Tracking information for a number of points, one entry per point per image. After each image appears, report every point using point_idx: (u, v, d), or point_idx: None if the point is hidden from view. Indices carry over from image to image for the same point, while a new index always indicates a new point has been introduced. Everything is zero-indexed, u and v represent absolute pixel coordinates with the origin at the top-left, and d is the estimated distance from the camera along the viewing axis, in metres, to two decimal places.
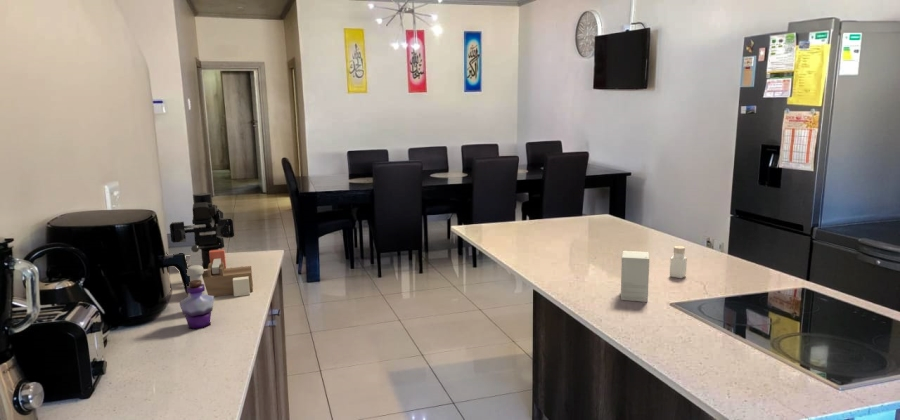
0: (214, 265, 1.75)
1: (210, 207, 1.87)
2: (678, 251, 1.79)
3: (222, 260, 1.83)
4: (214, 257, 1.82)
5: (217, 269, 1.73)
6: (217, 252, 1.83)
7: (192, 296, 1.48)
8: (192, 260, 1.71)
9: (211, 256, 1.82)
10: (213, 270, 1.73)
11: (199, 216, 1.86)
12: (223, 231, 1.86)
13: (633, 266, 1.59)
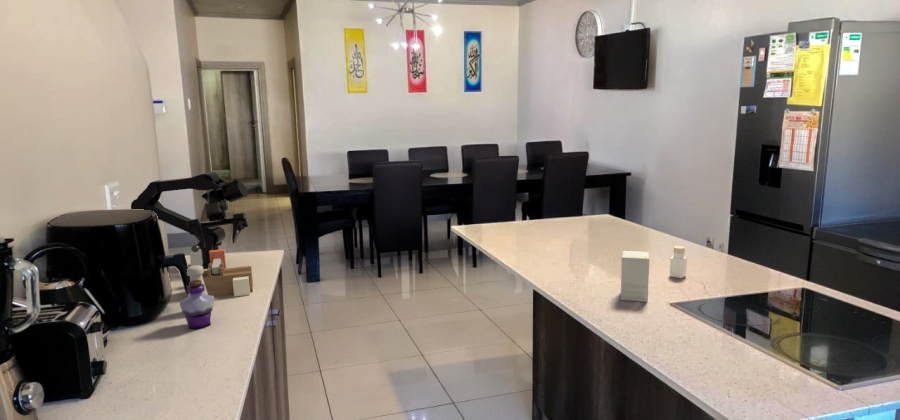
0: (214, 265, 1.75)
1: (222, 208, 1.91)
2: (678, 251, 1.79)
3: (222, 260, 1.83)
4: (214, 257, 1.82)
5: (217, 269, 1.73)
6: (217, 252, 1.83)
7: (192, 296, 1.48)
8: (192, 260, 1.71)
9: (211, 256, 1.82)
10: (213, 270, 1.73)
11: (213, 213, 1.92)
12: (238, 226, 1.96)
13: (633, 266, 1.59)
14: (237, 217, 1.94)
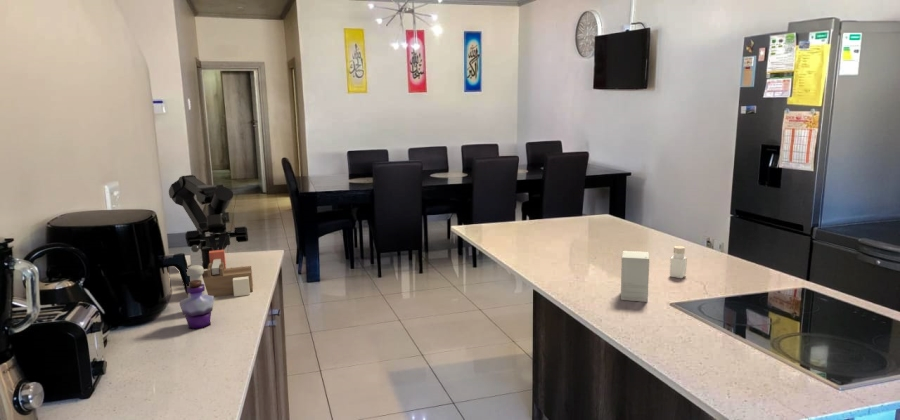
0: (214, 266, 1.74)
1: (224, 220, 1.86)
2: (678, 251, 1.79)
3: (222, 261, 1.83)
4: (214, 258, 1.82)
5: (217, 270, 1.73)
6: (217, 252, 1.82)
7: (192, 296, 1.48)
8: (192, 260, 1.71)
9: (211, 257, 1.82)
10: (213, 271, 1.72)
11: (213, 226, 1.87)
12: (224, 242, 1.89)
13: (633, 266, 1.59)
14: (239, 230, 1.89)
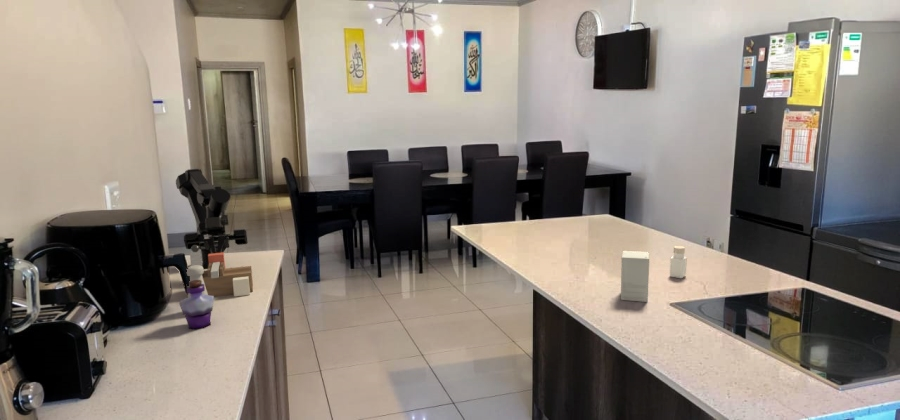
0: (213, 269, 1.71)
1: (223, 223, 1.83)
2: (678, 251, 1.79)
3: None
4: (213, 261, 1.78)
5: (216, 273, 1.69)
6: (216, 255, 1.79)
7: (192, 296, 1.48)
8: (192, 260, 1.71)
9: (210, 260, 1.78)
10: (212, 274, 1.69)
11: (212, 228, 1.84)
12: (223, 244, 1.87)
13: (633, 266, 1.59)
14: (238, 233, 1.86)
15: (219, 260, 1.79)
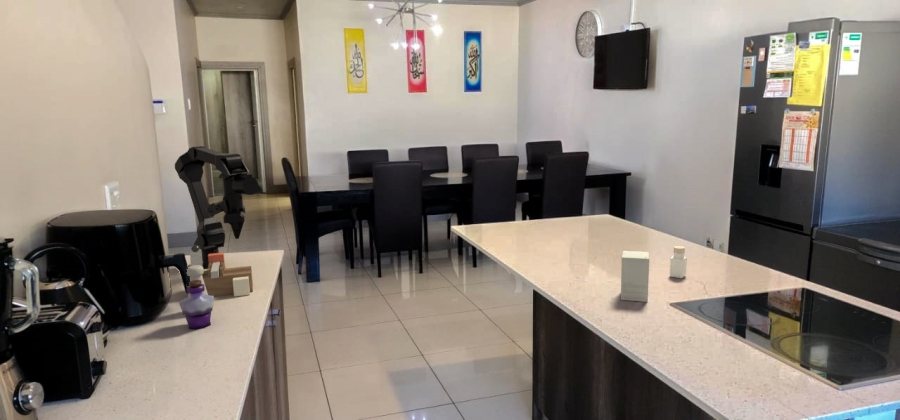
0: (213, 269, 1.71)
1: None
2: (678, 251, 1.79)
3: None
4: (213, 261, 1.78)
5: (216, 273, 1.69)
6: (216, 255, 1.79)
7: (192, 296, 1.48)
8: (192, 260, 1.71)
9: (210, 260, 1.78)
10: (212, 274, 1.69)
11: None
12: None
13: (633, 266, 1.59)
14: None
15: (219, 260, 1.79)
